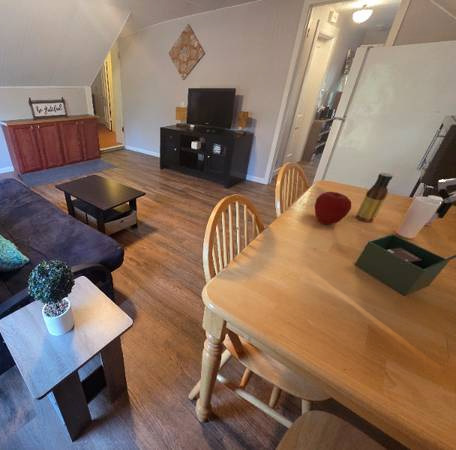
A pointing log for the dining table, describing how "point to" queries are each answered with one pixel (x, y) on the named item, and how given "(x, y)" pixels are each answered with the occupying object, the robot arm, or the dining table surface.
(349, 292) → the dining table surface
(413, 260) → the box
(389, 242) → the bin
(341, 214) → the apple
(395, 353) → the dining table surface
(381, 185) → the sauce bottle
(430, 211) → the white coffee cup
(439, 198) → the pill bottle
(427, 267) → the flap
